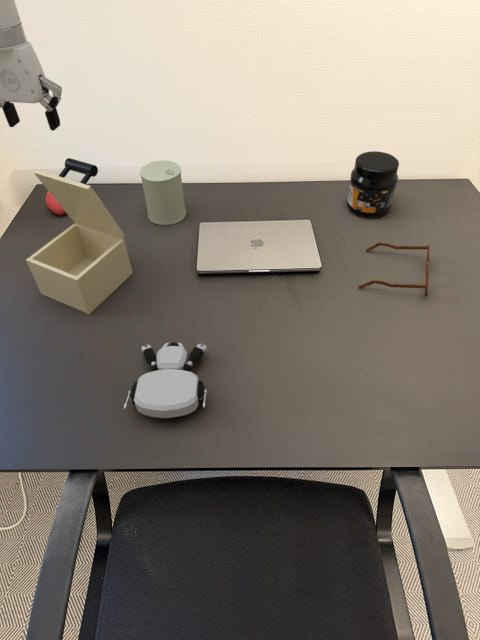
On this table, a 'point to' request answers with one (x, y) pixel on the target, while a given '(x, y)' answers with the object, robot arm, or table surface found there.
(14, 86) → the robot arm
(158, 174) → the can
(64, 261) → the open box
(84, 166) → the box lid
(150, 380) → the robot toy
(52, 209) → the stress ball
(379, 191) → the supplement container
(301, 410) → the table surface
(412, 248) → the glasses
